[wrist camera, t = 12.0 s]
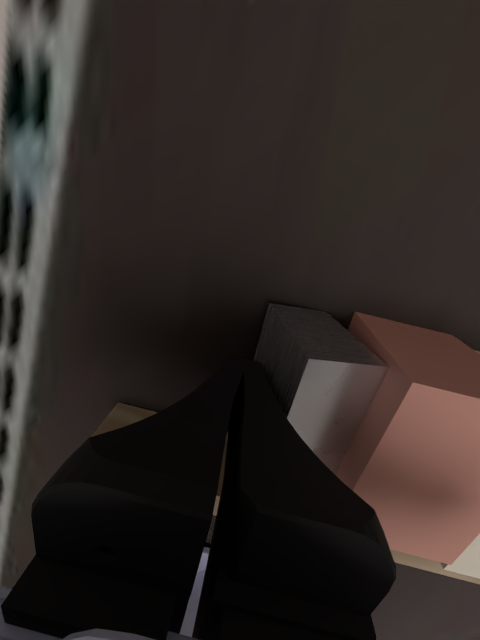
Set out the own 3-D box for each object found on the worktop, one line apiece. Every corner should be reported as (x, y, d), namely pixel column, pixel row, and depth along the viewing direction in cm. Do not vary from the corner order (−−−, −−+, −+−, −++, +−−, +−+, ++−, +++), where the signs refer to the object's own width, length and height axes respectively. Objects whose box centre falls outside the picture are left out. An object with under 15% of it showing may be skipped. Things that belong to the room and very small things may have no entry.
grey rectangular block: (286, 421, 14) (320, 503, 10) (237, 419, 13) (255, 506, 9) (326, 311, 11) (388, 366, 8) (269, 302, 11) (308, 358, 7)
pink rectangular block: (389, 442, 13) (450, 564, 9) (309, 422, 13) (328, 533, 9) (451, 334, 11) (579, 423, 6) (354, 311, 11) (413, 382, 7)
